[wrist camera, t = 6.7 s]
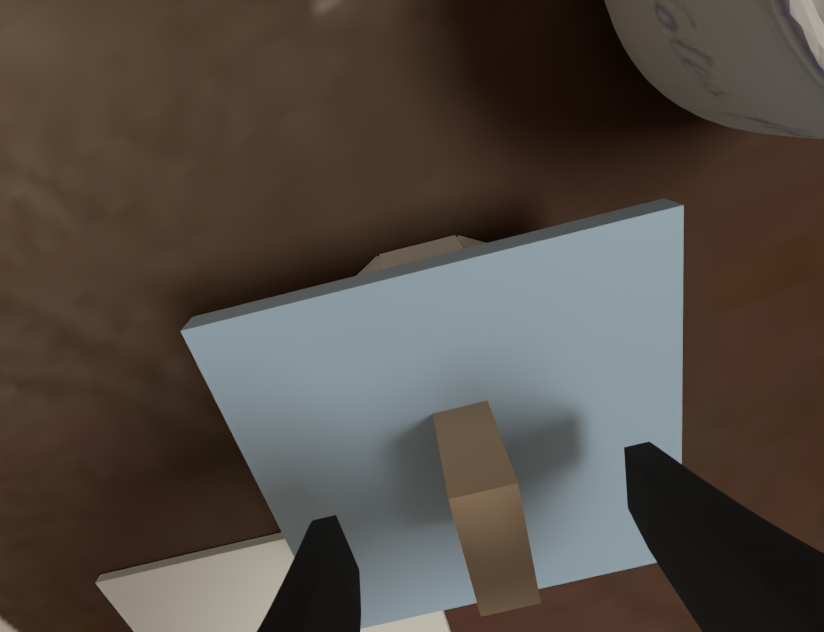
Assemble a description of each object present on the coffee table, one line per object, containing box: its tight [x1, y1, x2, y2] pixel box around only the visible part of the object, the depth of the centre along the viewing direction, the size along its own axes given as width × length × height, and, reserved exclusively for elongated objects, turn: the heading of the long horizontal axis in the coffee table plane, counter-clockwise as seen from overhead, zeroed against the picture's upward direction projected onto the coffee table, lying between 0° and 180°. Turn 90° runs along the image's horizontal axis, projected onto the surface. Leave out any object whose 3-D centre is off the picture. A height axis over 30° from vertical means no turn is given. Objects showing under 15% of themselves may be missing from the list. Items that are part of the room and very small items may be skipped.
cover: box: [181, 199, 684, 629], centre depth 12 cm, size 12×12×4 cm
